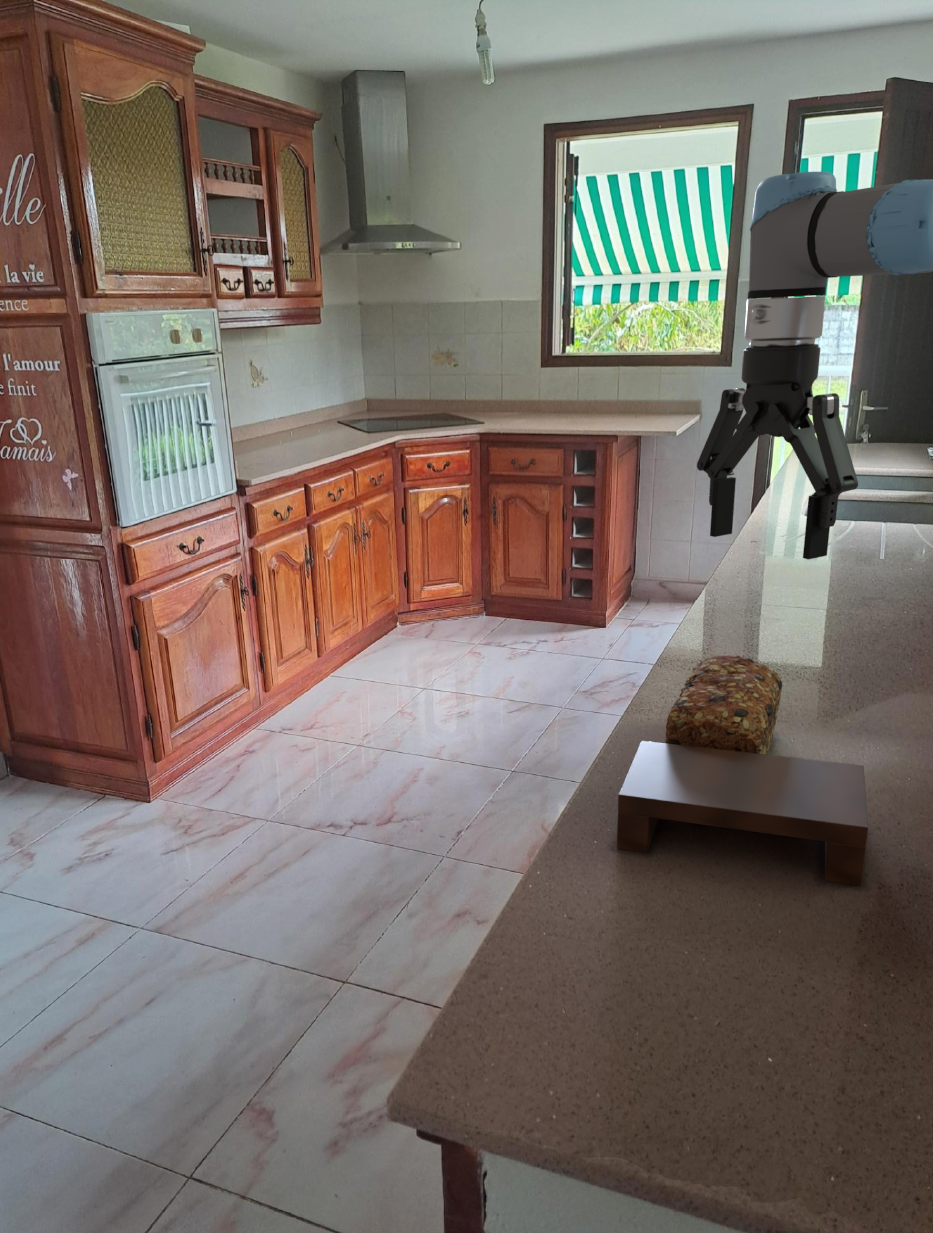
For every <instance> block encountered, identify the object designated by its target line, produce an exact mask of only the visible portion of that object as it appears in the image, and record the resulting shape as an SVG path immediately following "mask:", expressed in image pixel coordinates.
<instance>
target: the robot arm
mask: <svg viewBox="0 0 933 1233" xmlns="http://www.w3.org/2000/svg"><path fill="white" fill-rule="evenodd" d="M753 202H754V203H753V210H752V218H751V223H750V225H749V231H750V238H749V240H750V241H749V242H750V243H749V274H748V278H749V279H748V290H747V291H748V292H747V295H746V309H745V311H746V312H745V325H744V339H745V340H746V341H749V345H747V346H745V348H744V349H743V350H742V363H741V381H742V382H743V383H744V384H746V387H745V388H744V387H741V388H730V389H724V390H723V391H722V393H721V397H720V405H719V410H718V412H717V415H716V417H715V420H714V422H713V424H712V427H711V429H710V432H709V434H708V436H707V438H706V441H705V443H704V446H703V448H702V450H701V453H700V455H699V457H698V459H697V463H696V468H697V470H698V471H699V472H702V471H703V472H705V473H706V474H707V476H708V478H709V493H708V494H709V496H708V502H709V506H711V512H710V528H709V536H710V537H713V538H717V537H722V536H723V537H724V536H727V535H733V528H734V527H733V524H734V513H735V512H734V511H735V496H736V484H737V483H736V482H737V477H734V475H735V472H734V469H735V468H736V467H737V466H738V464H739V463H740V462H741V460H742V458H744V456H745V455H746V454H747V453H748V451H749V449H751V447H752V446H753V445H754V443H755V442H756V440H757V439H758V438H759V436H768V435H769V436H771V437H774V438H783V440H784V441H785V442H786V443H788V444H790V446H791V447H792V450H793V452H794V453H795V456H796V458H797V459H798V461H799V463H800V465H801V467H802V469H803V470H804V472H805V474H806V476H807V478H808V480H809V482H810V484H811V485H812V489H813V490H814V492H813V493H812V494H811V495H808V499H807V509H806V510H807V511H806V521H805V531H804V541H803V551H802V552H803V553H802V559H805V560H812V559H817V558H822V557H827V556H828V549H829V539H830V530H831V527H832V528H833V527H834V526H835V524H836V522H837V512H838V503H839V497H840V496H841V494H842V493H846V492H849V491H853V490H857V489H858V487H859V481H858V477H857V473H856V470H855V467H854V464H853V463H854V462H853V460H852V456H851V453H850V449H849V446H848V442H847V438H846V436H845V432H844V429H843V425H842V421H841V418H840V396H839V393H835V392H833V393H823V394H816V395H814V394H813V384H814V382H815V381H816V380H817V379H818V377H819V368H820V359H821V347H820V346H819V344H818V343H816V339H820V338H821V337H822V336H823V328H824V317H825V316H824V315H825V303H826V292H827V285H828V279H831V278H840V277H861V276H862V277H863V276H864V277H865V276H885V275H886V276H887V275H894V276H903V275H915V274H932V273H933V178H932V179H931V178H930V179H915V178H912V179H906V180H902V181H900V182H896V183H890V184H883V185H878V186H877V185H876V186H870V187H865V188H859V189H858V188H857V189H852V190H845V191H843V190H842V191H841V190H840V191H838V189H837V179H836V176H835V175H834V174H833V173H832V172H828V171H801V172H796V173H795V172H794V173H783V174H778V175H777V174H776V175H773V176H770V177H767V178H765V179H763V180H762V181H760V183H759V184H758V186H757V187H756V190H755V195H754V201H753ZM744 411H745V414H744V415H743V413H744ZM742 415H743V416H742ZM810 416H812V419H811V418H810Z"/></svg>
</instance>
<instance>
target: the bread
mask: <svg viewBox="0 0 933 1233" xmlns="http://www.w3.org/2000/svg"><path fill="white" fill-rule="evenodd" d="M782 690H783V681H782V678H781V677H780V676H779V674H778V673H777V672H776V671H775V670H773V669H771V668H770V667H768V666H767V665H766V664H764V663H760V662H759V661H755V660H753V659H752V658H750V657H746V658H745V657H743V656H740V655H730V654H729V655H712V656H709V657H707V658H704V660H702V661H700V662H699V663H697V664H696V665H695V666H694V667H693V668H692V671H691V673H690V674H689V675H688V677H686V680H685V683H684V684H683V685H682V686H681V689H680V692H679V697H678V698H676V699H675V700H674V703H673V706H672V707H671V708H670V710H669V713H668V715H667V718H666V725H665V743H666V744H675V745H684V746H693V747H702V748H711V749H720V750H729V751H738V752H747V753H756V754H765V755H769V752H770V748H771V746H772V741H773V738H774V733H775V731H776V724H777V719H778V712H779V708H780V706H781V696H782Z"/></svg>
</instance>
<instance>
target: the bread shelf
mask: <svg viewBox="0 0 933 1233" xmlns="http://www.w3.org/2000/svg"><path fill="white" fill-rule="evenodd" d="M865 777H866V776H865V766H864V765H863V764H854V763H847V762H846V763H845V762H836V761H830V760H829V761H828V760H818V759H809V758H801V757H791V756H782V755H775V754H774V755H773V754H767V755H765V754H756V753H747V752H738V751H729V750H720V749H711V748H702V747H693V746H684V745H675V744H666V742H656V741H646V740H641V741H640V743H639V745H638V748H637V750H636V752H635V754H634V756H633V759H632V761H631V764H630V767H629V768H628V771H627V773H626V776H625V778H624V780H623V783H622V785H621V787H620V790H619V792H618V795H617V824H616V826H617V828H616V829H617V831H616V832H617V833H616V849H617V850H623V851H629V852H636V853H641V854H642V853H643V854H648V853H649V850H650V847H651V844H652V841H653V837H654V835H655V832H656V829H657V825H658V823H659V820H660V819H661V820H667V821H675V822H681V823H688V824H689V823H691V824H696V825H704V826H711V827H718V828H726V829H733V830H740V831H746V832H747V831H748V832H752V833H753V832H754V833H760V834H761V833H762V834H768V835H775V836H783V837H790V838H797V839H805V840H811V841H813V840H814V841H819V842H824V881H827V882H831V883H840V884H846V885H852V886H860V887H861V885H862V878H863V870H864V864H865V855H866V848H867V840H868V834H869V833H868V832H869V820H868V819H869V818H868V806H867V792H866V791H867V790H866V778H865Z"/></svg>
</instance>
